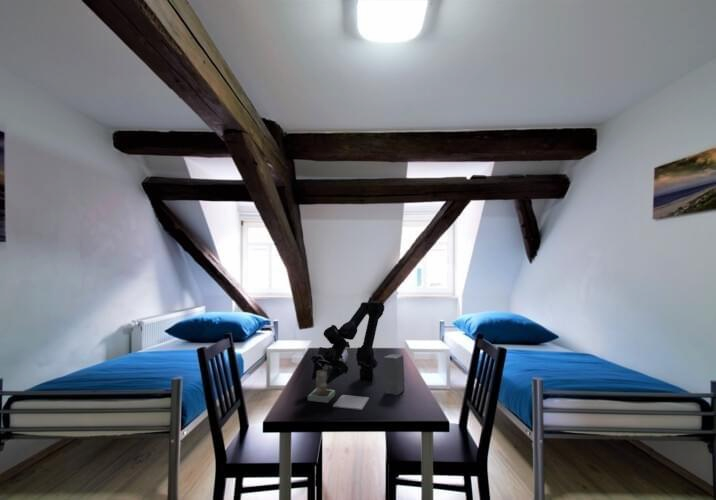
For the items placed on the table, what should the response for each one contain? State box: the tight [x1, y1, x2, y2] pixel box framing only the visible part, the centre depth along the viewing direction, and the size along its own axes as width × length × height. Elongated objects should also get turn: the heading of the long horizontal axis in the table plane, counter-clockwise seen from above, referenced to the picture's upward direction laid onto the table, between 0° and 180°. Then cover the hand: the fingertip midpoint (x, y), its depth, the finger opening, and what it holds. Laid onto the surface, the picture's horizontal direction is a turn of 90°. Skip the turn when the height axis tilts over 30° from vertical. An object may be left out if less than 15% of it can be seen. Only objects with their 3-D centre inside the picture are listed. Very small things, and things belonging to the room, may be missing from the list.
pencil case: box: [329, 348, 349, 370], centre depth 191 cm, size 21×9×10 cm, turn 176°
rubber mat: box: [332, 394, 370, 411], centre depth 138 cm, size 12×12×1 cm
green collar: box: [307, 388, 336, 404], centre depth 144 cm, size 9×9×2 cm
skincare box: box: [383, 353, 406, 396], centre depth 151 cm, size 8×7×16 cm
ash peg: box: [315, 369, 328, 396], centre depth 144 cm, size 4×4×11 cm
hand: (319, 381), depth 143 cm, fingers open, 8 cm apart
